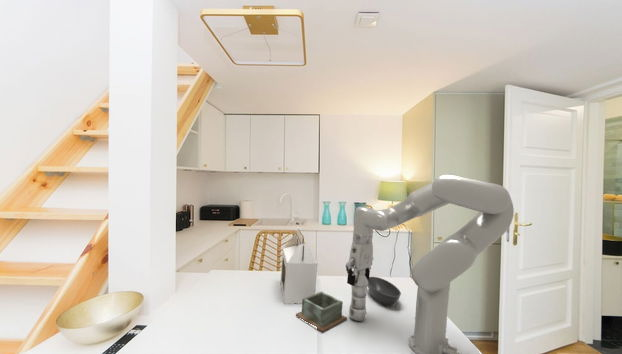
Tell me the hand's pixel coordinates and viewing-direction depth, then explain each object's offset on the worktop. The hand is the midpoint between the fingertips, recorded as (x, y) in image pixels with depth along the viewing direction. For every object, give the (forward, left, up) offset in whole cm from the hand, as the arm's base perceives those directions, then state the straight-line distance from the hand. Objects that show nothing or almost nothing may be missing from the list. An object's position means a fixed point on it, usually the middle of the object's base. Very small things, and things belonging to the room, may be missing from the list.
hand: (358, 281), depth 105 cm
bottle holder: (+8, +11, -15) cm, 20 cm away
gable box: (+31, +4, -15) cm, 35 cm away
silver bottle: (-1, 0, -15) cm, 15 cm away
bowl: (+2, -24, -15) cm, 28 cm away
